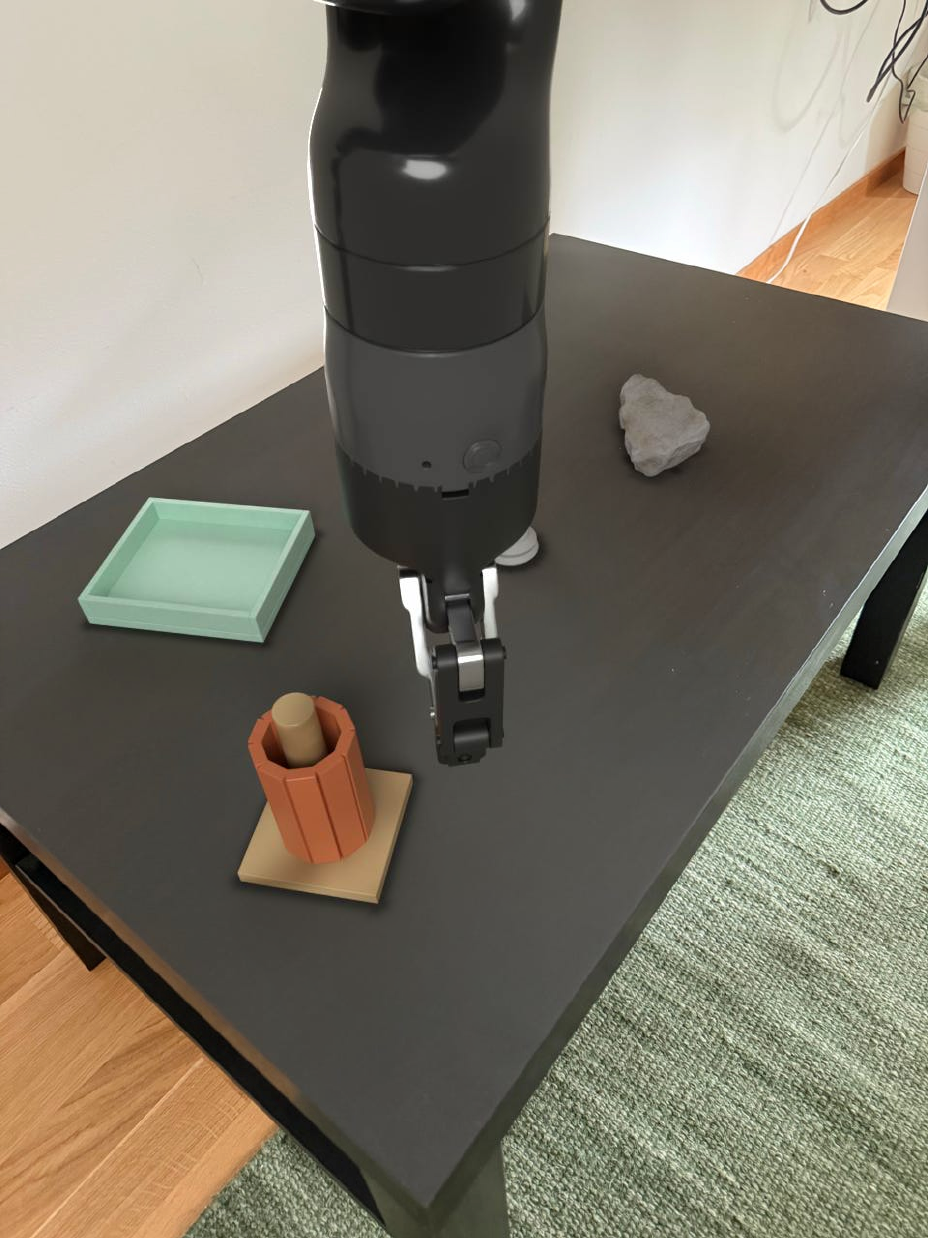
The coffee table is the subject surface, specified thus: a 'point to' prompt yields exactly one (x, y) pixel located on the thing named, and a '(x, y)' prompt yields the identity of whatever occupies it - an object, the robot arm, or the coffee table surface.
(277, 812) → the ring collar
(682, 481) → the coffee table surface
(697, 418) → the stone
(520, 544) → the chess piece
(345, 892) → the peg stand
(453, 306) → the robot arm
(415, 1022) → the coffee table surface
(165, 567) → the tray
